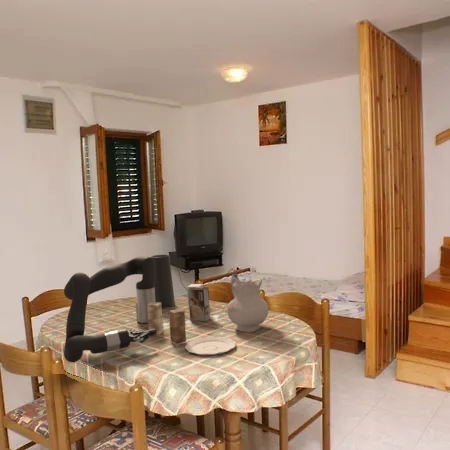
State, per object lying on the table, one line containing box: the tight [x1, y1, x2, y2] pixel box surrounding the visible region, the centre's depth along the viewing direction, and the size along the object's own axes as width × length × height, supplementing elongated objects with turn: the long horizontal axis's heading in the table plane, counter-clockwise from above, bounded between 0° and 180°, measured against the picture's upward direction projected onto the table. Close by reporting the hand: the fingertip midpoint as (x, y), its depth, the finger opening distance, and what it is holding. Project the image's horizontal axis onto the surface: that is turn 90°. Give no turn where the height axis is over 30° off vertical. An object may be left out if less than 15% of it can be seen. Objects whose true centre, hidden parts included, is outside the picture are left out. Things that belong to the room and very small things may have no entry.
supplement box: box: [186, 283, 205, 307], centre depth 257 cm, size 7×7×13 cm
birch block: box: [147, 302, 164, 336], centre depth 213 cm, size 5×5×14 cm
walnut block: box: [168, 308, 187, 346], centre depth 198 cm, size 5×5×14 cm
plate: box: [184, 336, 237, 356], centre depth 189 cm, size 21×21×2 cm
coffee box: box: [187, 286, 211, 322], centre depth 232 cm, size 9×6×16 cm
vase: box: [150, 254, 176, 309], centre depth 266 cm, size 14×14×29 cm
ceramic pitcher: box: [226, 273, 269, 333], centre depth 214 cm, size 22×20×25 cm
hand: (155, 331), depth 192 cm, fingers closed
